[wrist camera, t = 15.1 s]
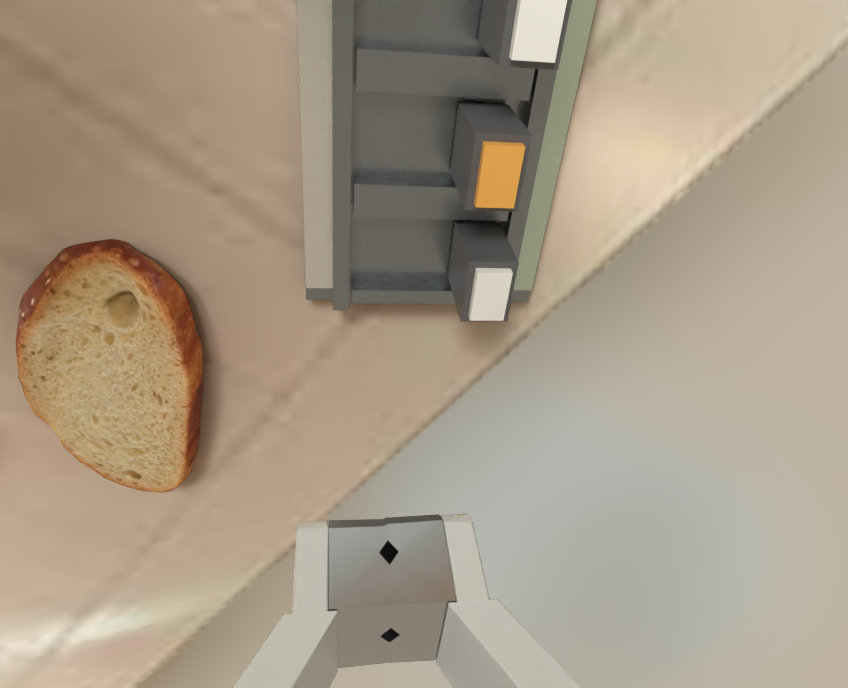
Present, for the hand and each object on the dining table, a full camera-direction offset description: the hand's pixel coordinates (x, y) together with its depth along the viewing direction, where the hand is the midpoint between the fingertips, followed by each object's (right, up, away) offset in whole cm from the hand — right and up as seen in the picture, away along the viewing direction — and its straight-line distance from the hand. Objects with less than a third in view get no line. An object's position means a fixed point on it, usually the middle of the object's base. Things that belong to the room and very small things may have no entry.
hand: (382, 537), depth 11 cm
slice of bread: (-20, +1, +33) cm, 39 cm away
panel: (+1, +16, +25) cm, 29 cm away
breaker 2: (+5, +21, +20) cm, 29 cm away
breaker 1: (+4, +9, +28) cm, 30 cm away
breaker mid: (+4, +15, +24) cm, 28 cm away
